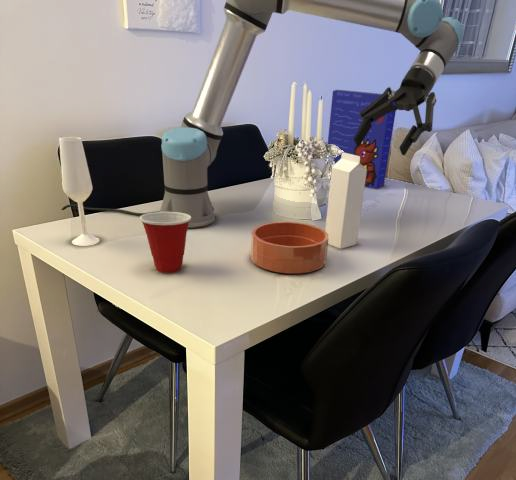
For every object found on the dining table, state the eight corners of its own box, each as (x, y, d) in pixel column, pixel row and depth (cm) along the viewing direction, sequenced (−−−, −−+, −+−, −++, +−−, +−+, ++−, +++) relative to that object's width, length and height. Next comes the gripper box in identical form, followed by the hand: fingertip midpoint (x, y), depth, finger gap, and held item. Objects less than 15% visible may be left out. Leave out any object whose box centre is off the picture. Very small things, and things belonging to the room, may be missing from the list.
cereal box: (383, 185, 184) (398, 94, 168) (376, 188, 180) (390, 95, 164) (332, 175, 195) (341, 89, 179) (324, 178, 191) (332, 90, 175)
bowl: (258, 276, 110) (259, 248, 107) (246, 248, 125) (246, 222, 122) (335, 273, 113) (338, 246, 110) (314, 245, 128) (316, 220, 125)
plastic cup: (194, 259, 118) (193, 208, 112) (191, 278, 109) (189, 223, 102) (148, 258, 117) (143, 207, 111) (140, 277, 108) (135, 222, 102)
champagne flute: (97, 235, 129) (83, 135, 117) (102, 243, 124) (88, 140, 112) (70, 238, 127) (52, 136, 114) (73, 247, 122) (56, 141, 109)
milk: (340, 249, 127) (351, 157, 115) (323, 242, 131) (332, 153, 119) (356, 244, 130) (369, 155, 118) (340, 237, 134) (350, 150, 122)
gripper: (470, 93, 123) (426, 165, 121) (383, 84, 137) (343, 148, 136) (465, 69, 117) (419, 144, 115) (375, 62, 131) (333, 129, 130)
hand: (378, 147), depth 126 cm, fingers open, 13 cm apart
